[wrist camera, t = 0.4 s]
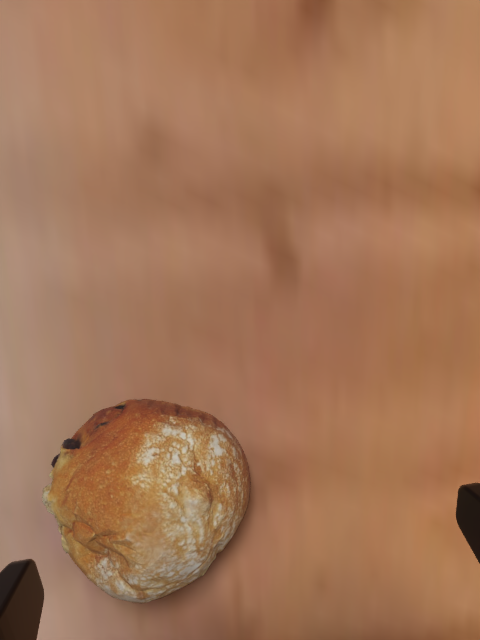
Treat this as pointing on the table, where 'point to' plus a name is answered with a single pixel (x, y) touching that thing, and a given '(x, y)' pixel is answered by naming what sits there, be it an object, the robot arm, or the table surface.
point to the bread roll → (148, 496)
